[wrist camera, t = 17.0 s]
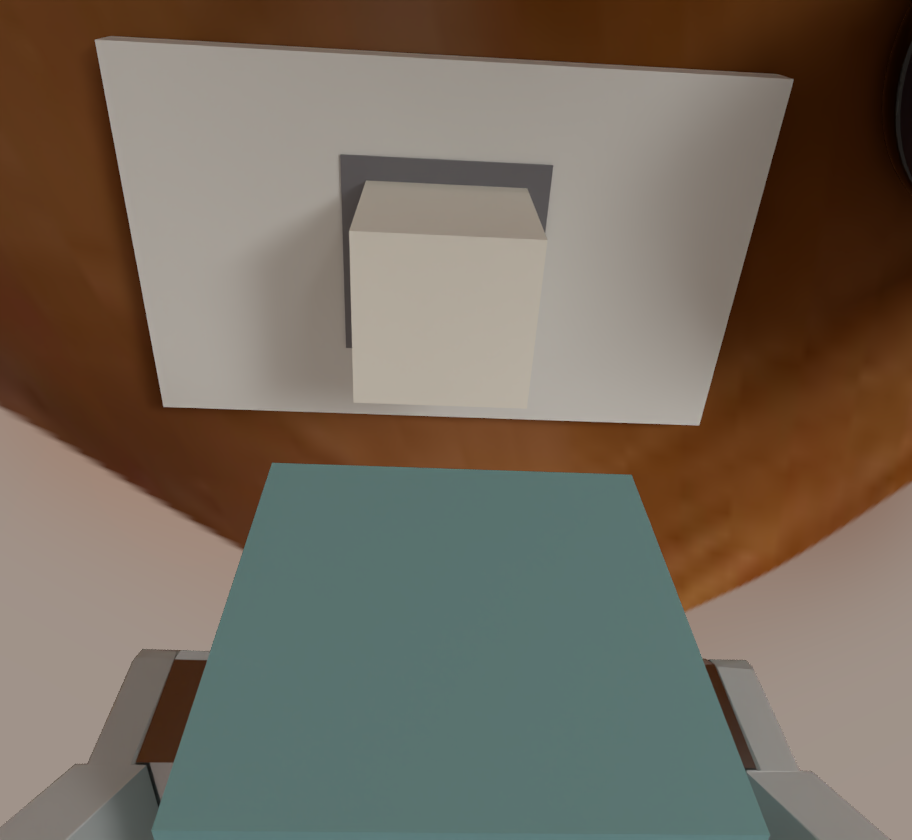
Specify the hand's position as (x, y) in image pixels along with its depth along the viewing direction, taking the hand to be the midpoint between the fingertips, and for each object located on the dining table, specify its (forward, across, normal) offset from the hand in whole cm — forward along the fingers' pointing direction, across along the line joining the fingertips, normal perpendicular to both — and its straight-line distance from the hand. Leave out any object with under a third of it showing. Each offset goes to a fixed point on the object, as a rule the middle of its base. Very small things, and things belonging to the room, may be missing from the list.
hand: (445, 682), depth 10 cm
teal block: (+2, 0, 0) cm, 2 cm away
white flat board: (+18, 0, 0) cm, 18 cm away
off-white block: (+16, 0, 0) cm, 16 cm away
